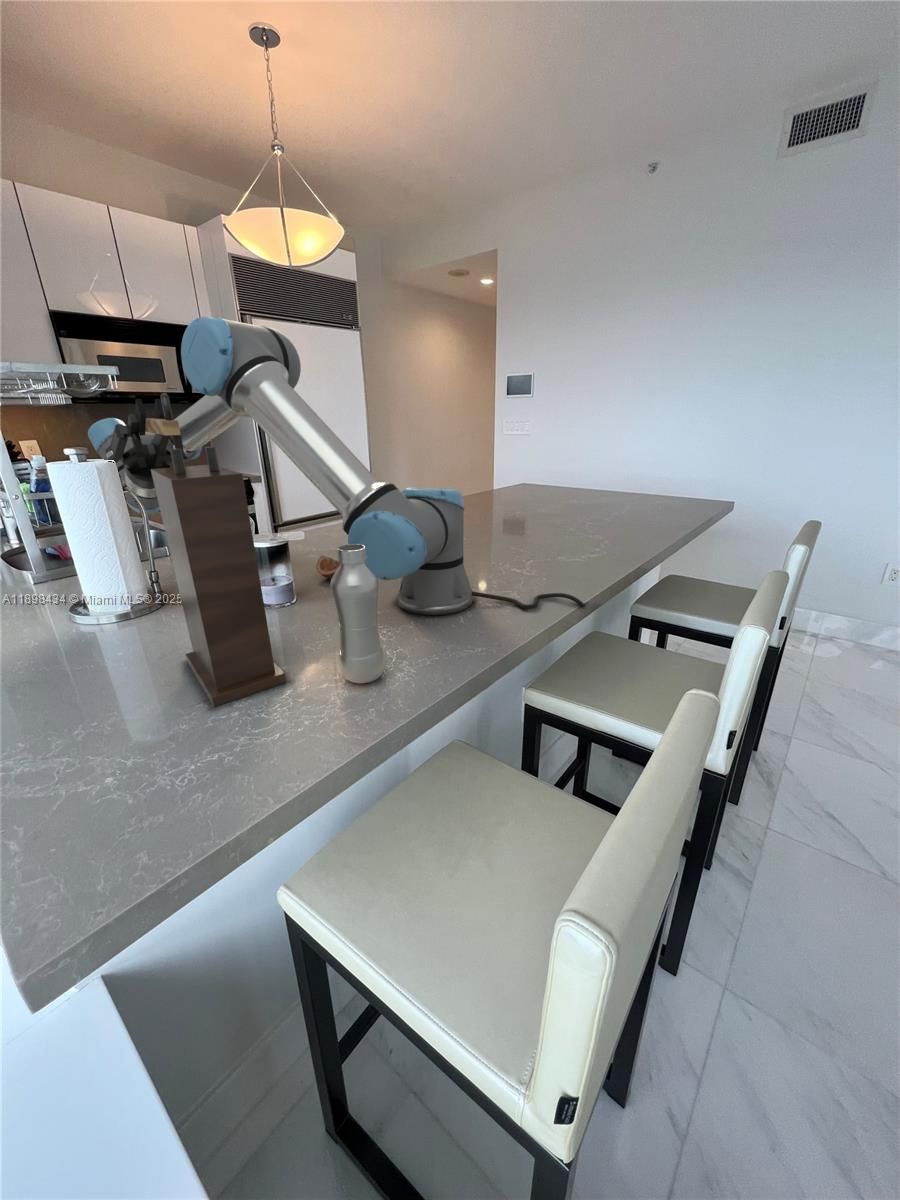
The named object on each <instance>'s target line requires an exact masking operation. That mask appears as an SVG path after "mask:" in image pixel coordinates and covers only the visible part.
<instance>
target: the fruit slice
mask: <svg viewBox="0 0 900 1200" xmlns="http://www.w3.org/2000/svg"><path fill="white" fill-rule="evenodd" d="M339 566H340V563H339V562H338V561H337V559H336V560H335V559H333V557H329V556H325V555H320V557H319V559H318V560H317V562H316V566H315V569H316V571H317V573H319V574H320V575H321V576H322V577H324V578H327V579H329V580H331V579H332V577H333V575H334V573H335V572H336V570H337V569H338V567H339Z"/></svg>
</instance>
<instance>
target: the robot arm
mask: <svg viewBox="0 0 900 1200" xmlns="http://www.w3.org/2000/svg"><path fill="white" fill-rule="evenodd" d="M294 345H295V344H294V343H293V342H292V341H291V340H290V339H289V338H288V337H287V336H286V335H285V334H283V332H281V331H279V330H277V329H275V328H272V327H270V326H265V325H258V324H252V323H248V322H247V323H246V322H241V321H236V320H231V319H225V318H223V317H220V316H213V317H212V316H200V317H197V318H195V319H193V320H192V321H191V322H190V323H189V324H188V326H187V327H186V328H185V331H184V333H183V336H182V340H181V346H180V355H181V363H182V368H183V371H184V374H185V377H186V379H187V380H188V382H189V383H190V385H191V386H192V387H193V389H194V390H196V391H197V392H198V393H200V394H202V395H204V396H203V397H201V398H199V400H197V401H196V402H195V403H194V404H192V405H191V406H189V407H188V408H187V409H186V410H185V411H183V412H182V413H180V414H179V415H178V416H177V417H176V418H173V420H178V424H179V429H180V434H181V435H168V436H165V435H160V434H155V433H150V432H145V426H146V418H147V414H146V410H145V407H144V404H143V400H142V398H135V410H134V411H135V412H134V413H129V415H128V416H127V417H128V418H127V419H128V421H127V424H125V421H123V420H122V419H118V418H116V417H106V418H103V419H100V420H98V421H96V422H94V423H93V424H92V425H91V426H90V427H89V428H88V430H87V436H88V438H89V440H90V443H91V445H92V446H93V448H94V450H95V452H96V453H97V455H99V456H100V458H101V459H102V460H103V459H104V460H114V461H115V462H116V465H117V468H118V472H119V474H120V476H121V478H122V479H123V480H124V482H125V484H126V486H127V487H128V488H129V489H131V490H132V491H133V492H134V493H135V494H136V495H137V497H138V499H139V500H140V502H141V504H142V505H143V506H144V508H145V511H146V514H145V515H153V514H156V513H158V512H161V511H160V507H159V503H158V499H157V494H156V490H155V486H154V481H153V477H152V473H151V469H160V468H171V464H173V461H172V456H171V452H170V449H181V451H182V456H183V461H184V462H189V461H191V460H195V459H197V458H199V457H200V455H201V452H202V450H203V446H205V445H206V444H208V443H209V442H211V441H212V440H214V439H215V438H216V437H218V436H220V434H222V433H224V432H225V431H227V430H228V429H229V428H231V427H233V426H234V425H236V424H237V423H238V422H240V421H241V420H243V419H244V418H251V419H252V420H253V421H254V422H255V423H256V424H257V425H258V427H259V428H261V430H262V431H264V433H265V434H266V435H267V436H268V437H269V438H270V439H271V440H272V441H273V442H274V443H275V445H276V446H277V447H278V448H279V449H280V450H281V452H283V454H285V456H286V457H287V458H288V459H289V460H290V461H291V462H292V463H293V464H294V465H295V466H296V467H297V468H298V469H299V470H300V472H301V473H302V474H303V475H304V476H305V478H307V479H308V480H309V481H310V483H311V484H312V485H313V486H314V487H315V488H316V489H317V490H318V491H319V492H320V493H321V494H322V495H323V496H324V497H325V499H326V500H327V501H328V502H329V503H330V504H331V506H333V507H334V508H335V509H336V511H337V512H338V513H339V514H340V515H341V516H342V525H341V527H342V531H344V533H345V534H346V535H347V544H360V545H364V546H365V551H366V556H367V560H366V561H365V564H366V565H367V566H368V567H369V568H370V570H371V571H372V572H373V574H374V575H375V576H376V579H377V580H381V581H394V580H399V579H401V580H400V581H399V585H398V592H397V603H398V606H399V607H400V608H401V609H403V610H405V611H407V612H408V613H411V614H416V615H422V616H423V615H424V616H444V615H451V614H455V613H459V612H461V611H463V610H466V609H468V608H469V607H470V606H471V605H472V603H473V597H477V598H484V599H489V600H496V601H502V602H507V603H511V604H513V605H516V606H518V607H519V608H521V609H524V610H529V609H530V610H531V609H535V608H536V607H537V606H538V604H539V600H541V599H550V598H564V599H566V600H567V599H568V600H570V601H572V602H574V603H576V604H577V605H578V606H579V607H581V608H585V607H586V605H585V604H584V602H583V601H582V600H580V599H579V598H577V597H576V596H573V595H571V594H569V593H562V592H552V593H551V592H550V593H542V594H541V593H540V594H538V595H536V596H535V597H534V598H533V603H529V604H526V603H523V602H521V601H519V600H518V599H515V598H511V597H508V596H502V595H495V594H491V593H484V592H478V591H473V590H472V586H471V583H470V581H469V577H468V574H467V572H466V568H465V566H464V541H465V540H464V539H465V538H464V537H465V535H464V533H465V532H464V531H465V530H464V525H465V523H464V522H465V521H464V518H465V517H464V514H465V513H464V512H465V506H464V496H463V494H462V492H461V491H460V490H458V489H455V488H440V487H439V488H438V487H405V488H403V489H402V491H401V490H400V489H399V488H398V487H397V486H396V484H395V483H393V482H391V481H389V482H386V481H380V480H378V478H376V476H374V475H373V473H372V472H371V471H370V470H369V469H368V468H367V467H366V466H365V464H364V463H363V462H362V461H361V460H360V459H359V458H358V456H356V454H354V452H352V450H351V449H350V448H349V447H348V446H347V444H345V443H344V442H343V441H342V440H341V439H340V438H339V437H338V436H337V434H336V433H335V432H334V431H333V430H332V429H331V428H330V427H329V426H328V425H327V423H325V422H324V420H323V419H322V418H321V417H320V416H319V415H318V414H317V413H316V412H315V410H313V408H312V407H311V406H310V405H309V404H308V403H307V402H306V401H305V400H304V398H302V396H300V395H299V393H298V392H297V391H296V390H295V387H296V386H297V385H298V383H299V381H300V377H301V372H302V365H301V360H300V356H299V352H298V350H297V349H296V347H295V346H294ZM153 418H155V419H165V416H164V412H163V407H162V402H161V398H154V412H153ZM108 462H112V461H108ZM113 463H114V462H113ZM124 494H125V496H124V499H125V498H126V500H125V501H126V504H127V505H128V508H130V509H131V510H132V511H134V512H136V513H138V514H141V513H140V509H139V507H138V505H137V503H136V502H135V500H134V499H133V497H132V495H131V494H130V493H129V492H125V493H124Z"/></svg>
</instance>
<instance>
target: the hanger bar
mask: <svg viewBox="0 0 900 1200" xmlns="http://www.w3.org/2000/svg"><path fill="white" fill-rule="evenodd" d="M160 399H161V402H162V407H163V412H164V416H165V419H155V418H154V417H153V418H152V417H151V418H149V417H146V426H145V432H150V433H155V434H160V435H165V436H168V435H181V434H180V429H179V424H178V420H174V416H173V412H172V407H171V401H170V397H169V394H167V393H166V392H163V393H161V394H160Z"/></svg>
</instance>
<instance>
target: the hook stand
mask: <svg viewBox="0 0 900 1200" xmlns="http://www.w3.org/2000/svg"><path fill="white" fill-rule="evenodd" d="M204 449H205V455H206V460H207V464H202V465H188V466H187V465H186V466H185V461H183V456H182V451H181V449H170V452H171V456H172V461H173V462H172V464H173V466H172V467H170V468H160V469H151V473H152V477H153V481H154V486H155V490H156V494H157V499H158V503H159V507H160V511H159V512H160V515H161V520H162V524H163V528H164V532H165V536H166V540H167V545H168V550H169V554H170V559H171V562H172V566H173V571H174V576H175V579H176V584H177V587H178V592H179V596H180V601H181V605H182V609H183V613H184V618H185V623H186V626H187V632H188V635H189V639H190V644H191V648H192V651H191V652H188V653H185V658H186V662H187V665H188V666H189V667H190V669H191V671H192V672H193V674H194V676H195V678H196V679H197V681H198V683H199V684H200V686H201V688H202V690H203V691H204V693H205V695H206V697H207V698H208V699H209V701H210V703H211V704H212V706H213V708H216V707H219V706H222V705H225V704H227V703H230V702H233V701H236V700H239V699H242V698H245V697H248V696H251V695H254V694H256V693H260V692H263V691H265V690H268V689H272V688H274V687H277V686H280V685H283V684H286V683H287V679H286V674H285V672H284V671H283V670H282V668H280V666H278V665H277V664H276V662H275V661H274V656H273V650H272V644H271V638H270V632H269V627H268V620H267V615H266V607H265V602H264V596H263V590H262V584H261V578H260V571H259V566H258V565H259V564H258V560H257V554H256V547H255V542H254V535H253V531H252V525H251V524H252V523H251V518H250V511H249V507H248V501H247V495H246V494H247V493H246V488H245V482H244V481H245V480H244V476H243V473H241V472H239V471H234V470H232V469H229V468H225V467H222V466H220V465H219V459H218V453H217V448H216V446H205V447H204Z"/></svg>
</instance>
